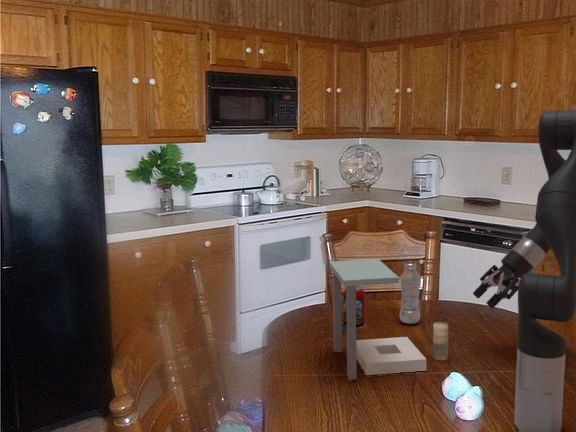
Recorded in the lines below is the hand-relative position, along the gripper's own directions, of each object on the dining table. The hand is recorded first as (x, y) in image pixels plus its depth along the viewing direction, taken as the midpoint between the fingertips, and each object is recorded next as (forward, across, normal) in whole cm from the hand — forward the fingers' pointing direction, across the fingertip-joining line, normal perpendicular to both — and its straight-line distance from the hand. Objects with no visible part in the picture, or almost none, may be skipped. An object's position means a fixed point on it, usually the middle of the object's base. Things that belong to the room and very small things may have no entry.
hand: (482, 301), depth 160 cm
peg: (+19, 0, +2) cm, 19 cm away
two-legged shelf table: (+35, 0, -13) cm, 37 cm away
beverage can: (+32, -31, -9) cm, 45 cm away
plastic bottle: (+19, -28, +3) cm, 34 cm away
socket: (+30, 0, -8) cm, 31 cm away
